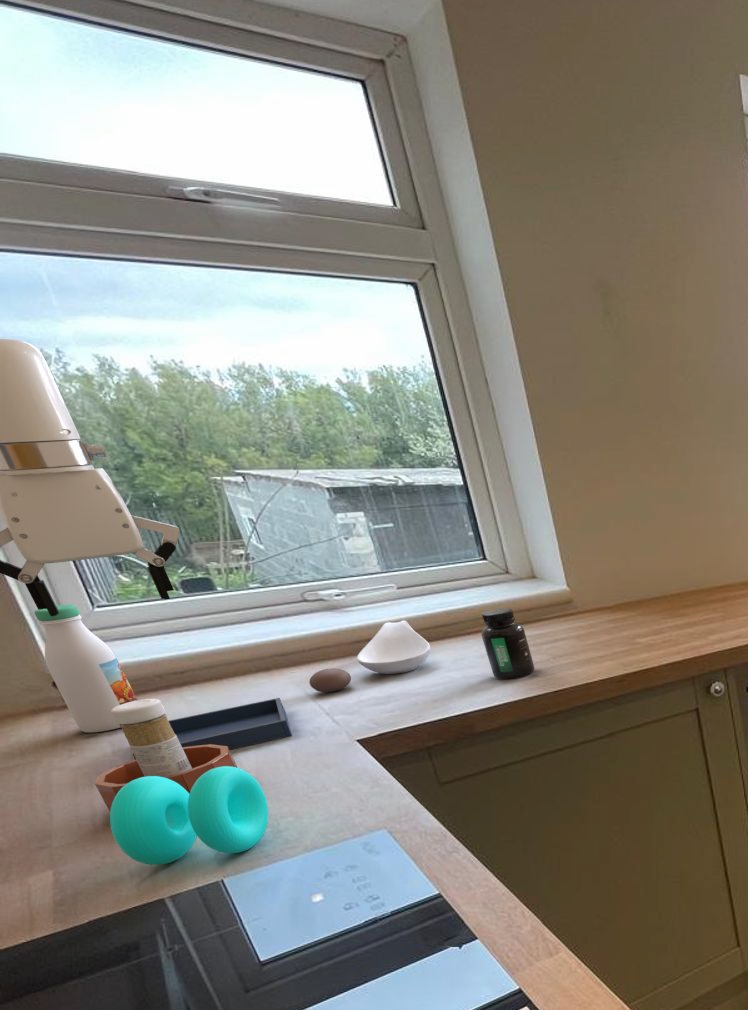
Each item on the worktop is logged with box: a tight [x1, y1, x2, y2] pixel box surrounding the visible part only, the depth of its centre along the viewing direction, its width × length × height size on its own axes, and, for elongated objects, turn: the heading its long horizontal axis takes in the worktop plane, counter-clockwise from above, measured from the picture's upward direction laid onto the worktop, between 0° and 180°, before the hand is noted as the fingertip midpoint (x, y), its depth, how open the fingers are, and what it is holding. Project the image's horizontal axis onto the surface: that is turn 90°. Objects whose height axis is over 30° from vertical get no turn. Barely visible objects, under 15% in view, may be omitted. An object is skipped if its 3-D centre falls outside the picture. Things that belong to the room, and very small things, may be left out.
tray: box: [132, 697, 293, 760], centre depth 127 cm, size 17×15×3 cm
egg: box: [308, 667, 352, 693], centre depth 146 cm, size 6×6×4 cm
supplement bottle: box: [481, 608, 535, 680], centre depth 150 cm, size 7×7×12 cm
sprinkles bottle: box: [111, 698, 192, 777], centre depth 105 cm, size 5×5×13 cm
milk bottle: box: [34, 604, 138, 733], centre depth 131 cm, size 8×8×20 cm
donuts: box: [109, 766, 269, 866], centre depth 92 cm, size 10×10×10 cm
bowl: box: [95, 744, 239, 812], centre depth 106 cm, size 13×13×5 cm
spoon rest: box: [356, 619, 431, 675], centre depth 161 cm, size 24×12×7 cm, turn 31°
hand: (111, 605), depth 99 cm, fingers open, 9 cm apart
